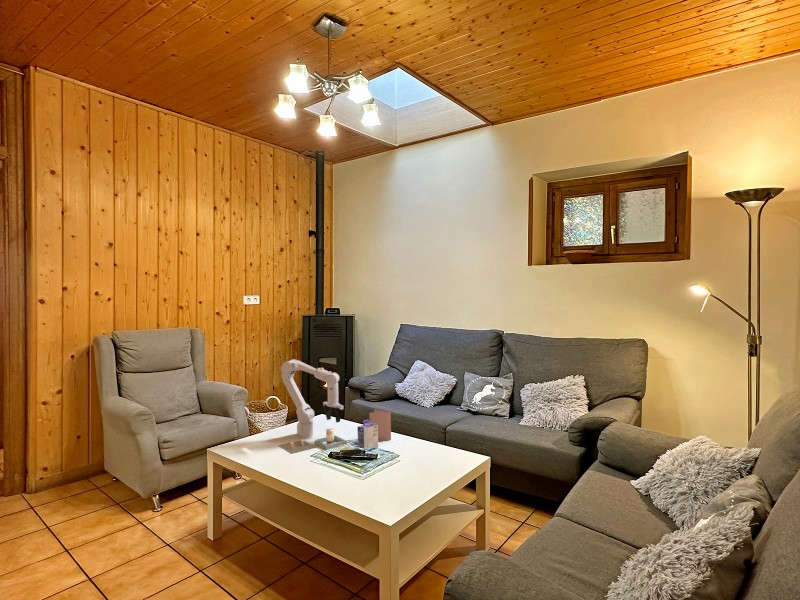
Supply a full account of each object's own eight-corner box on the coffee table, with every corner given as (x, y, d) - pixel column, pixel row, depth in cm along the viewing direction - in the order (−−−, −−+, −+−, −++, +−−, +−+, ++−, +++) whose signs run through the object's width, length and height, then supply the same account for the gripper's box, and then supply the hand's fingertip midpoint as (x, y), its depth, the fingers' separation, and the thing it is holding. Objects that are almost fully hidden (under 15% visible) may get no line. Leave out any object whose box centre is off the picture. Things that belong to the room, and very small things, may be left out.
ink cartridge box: (371, 445, 237) (371, 417, 237) (378, 447, 233) (378, 419, 233) (357, 450, 230) (356, 421, 230) (364, 452, 226) (364, 423, 226)
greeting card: (391, 439, 246) (391, 412, 245) (383, 443, 240) (383, 415, 239) (375, 436, 252) (375, 409, 252) (366, 439, 246) (366, 412, 246)
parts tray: (314, 446, 236) (314, 439, 236) (334, 441, 243) (334, 435, 243) (326, 452, 227) (326, 445, 227) (346, 447, 234) (346, 440, 234)
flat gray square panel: (277, 448, 234) (277, 440, 234) (302, 442, 242) (302, 435, 242) (291, 456, 221) (291, 448, 221) (317, 450, 230) (316, 442, 230)
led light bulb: (325, 444, 235) (324, 429, 235) (332, 443, 238) (331, 428, 238) (328, 446, 232) (328, 431, 232) (335, 445, 234) (335, 429, 234)
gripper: (318, 395, 248) (319, 420, 248) (336, 399, 238) (336, 424, 238) (328, 392, 253) (329, 417, 253) (346, 396, 244) (346, 421, 244)
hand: (333, 420), depth 246 cm, fingers open, 7 cm apart
